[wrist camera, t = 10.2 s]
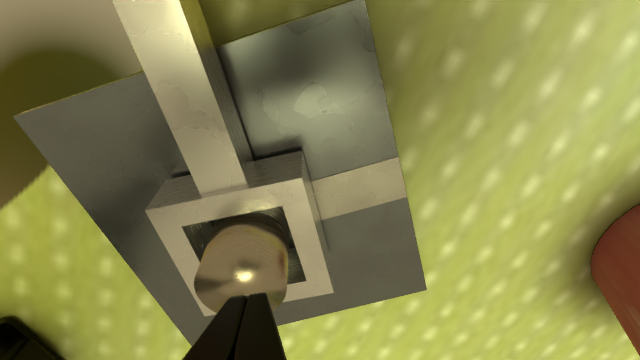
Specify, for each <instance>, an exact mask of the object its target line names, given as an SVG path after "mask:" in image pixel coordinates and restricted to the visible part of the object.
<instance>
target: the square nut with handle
mask: <svg viewBox="0 0 640 360" xmlns="http://www.w3.org/2000/svg"><path fill="white" fill-rule="evenodd" d="M112 2H113V4H114V6H115V9H116V11H117V13H118V15H119V18H120V20H121V22H122V24H123V26H124V28H125V30H126V33H127V35H128V37H129V39H130V42H131V44H132V46H133V48H134V50H135V53H136V55H137V57H138V59H139V61H140V63H141V66H142V68H143V70H144V72H145V74H146V77H147V79H148V81H149V83H150V85H151V88H152V90H153V92H154V94H155V96H156V98H157V101H158V103H159V105H160V107H161V109H162V112H163V114H164V116H165V118H166V120H167V123H168V125H169V127H170V129H171V131H172V133H173V136H174V138H175V140H176V142H177V144H178V147H179V149H180V151H181V153H182V155H183V158H184V160H185V162H186V164H187V166H188V168H189V171H190V173H191V175H186V176H182V177H177V178H172V179H168V180H166V181H165V182H164V184H163V185H162V187H161V188H160V189H159V191H158V192H157V194H156V195H155V197H154V198H153V200H152V201H151V202H150V204H149V205H148V207H147V208H146V210H145V212H146V214H147V216H148V217H149V219H150V221H151V223H152V224H153V226H154V228H155V230H156V231H157V233H158V235H159V237H160V238H161V240H162V242H163V244H164V246H165V247H166V249H167V251H168V253H169V254H170V256H171V258H172V260H173V261H174V263H175V265H176V267H177V268H178V270H179V272H180V274H181V276H182V277H183V279H184V281H185V283H186V284H187V286H188V288H189V290H190V291H191V293H192V295H193V297H194V298H195V300H196V302H197V304H198V306H199V307H200V309H201V311H202V313H203V314H204V316H211V315H216V314H217V313H215V312H214V311H212V310H210V309H209V308H207V307H206V306H205V305H204V304H203V303H202V302H201V301H200V300H199V298H198V296H197V295H196V292H195V289H194V279H195V275H196V273H197V270H198V267H199V265H200V262H201V259H202V256H203V254H204V251H205V248H206V246H207V243H208V240H209V237H210V235H211V232H212V229H213V227H212V225H211V223H210V221H211V220H216V219H220V218H225V217H230V216H235V215H240V214H245V213H250V212H255V211H260V210H264V209H269V208H274V207H279V206H282V207H283V210H284V213H285V216H286V219H287V222H288V225H289V228H290V231H291V234H292V237H293V240H294V244H295V247H296V248H292V249H289V259H288V277H287V292H286V296H285V298H284V300H283V302H287V301H292V300H298V299H303V298H308V297H314V296H319V295H325V294H330V293H334V289H333V279H332V269H331V258H330V254H329V250H328V246H327V242H326V239H325V235H324V231H323V227H322V223H321V220H320V216H319V212H318V208H317V205H316V201H315V197H314V193H313V190H312V186H311V182H310V178H309V175H308V171H307V167H306V163H305V159H304V156H303V152H302V151H298V152H294V153H289V154H284V155H280V156H275V157H270V158H266V159H261V160H256V161H254V159H253V156H252V154H251V151H250V148H249V145H248V142H247V139H246V136H245V133H244V130H243V128H242V125H241V122H240V119H239V116H238V113H237V110H236V107H235V105H234V102H233V99H232V96H231V93H230V90H229V87H228V84H227V81H226V79H225V76H224V73H223V70H222V67H221V64H220V61H219V58H218V55H217V53H216V50H215V47H214V44H213V41H212V38H211V35H210V32H209V30H208V27H207V24H206V21H205V18H204V15H203V12H202V9H201V6H200V4H199V1H198V0H112Z"/></svg>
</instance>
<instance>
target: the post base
mask: <svg viewBox="0 0 640 360" xmlns="http://www.w3.org/2000/svg"><path fill="white" fill-rule="evenodd" d="M215 50H216V53H217V55H218V58H219V61H220V64H221V67H222V70H223V73H224V76H225V79H226V81H227V84H228V87H229V90H230V93H231V96H232V99H233V102H234V105H235V107H236V110H237V113H238V116H239V119H240V122H241V125H242V128H243V130H244V133H245V136H246V139H247V142H248V145H249V148H250V151H251V154H252V156H253V159H254V161H256V160H261V159H266V158H270V157H275V156H280V155H284V154H289V153H294V152H298V151H302V152H303V156H304V159H305V163H306V167H307V171H308V175H309V178H310V182H311V186H312V190H313V193H314V197H315V201H316V205H317V208H318V212H319V216H320V220H321V223H322V227H323V231H324V235H325V239H326V242H327V246H328V250H329V254H330V258H331V269H332V279H333V289H334V293H330V294H325V295H319V296H314V297H308V298H303V299H298V300H292V301H287V302H283V300H284V298H285V296H286V292H287V277H288V259H289V249H292V248H296V247H295V244H294V240H293V237H292V234H291V231H290V228H289V225H288V222H287V219H286V216H285V213H284V210H283V207H282V206H279V207H274V208H269V209H264V210H260V211H255V212H250V213H245V214H240V215H235V216H230V217H225V218H220V219H216V220H211V221H210V223H211V225H212V227H213V229H212V232H211V235H210V237H209V240H208V243H207V246H206V248H205V251H204V254H203V256H202V259H201V262H200V265H199V267H198V270H197V273H196V275H195V279H194V289H195V292H196V295H197V296H198V298H199V300H200V301H201V302H202V303H203V304H204V305H205V306H206V307H207V308H209V309H210V310H212V311H214V312H215V313H218V311H219V310H220V309H221V307H222V306H223V305H224V303H225V302H226V301H227V300H228V299H229V298H230V297H232V296H238V295H248V296H249V295H250V294H254V293H261V292H266V293H267V295H268V298H269V302H270V305H271V308H272V312H273V315H274V319H275V322H276V325H277V326H279V325H283V324H287V323H291V322H295V321H300V320H304V319H308V318H312V317H316V316H320V315H325V314H329V313H333V312H337V311H341V310H345V309H349V308H354V307H358V306H362V305H366V304H370V303H374V302H379V301H383V300H387V299H391V298H395V297H399V296H403V295H408V294H412V293H416V292H420V291H424V290H427V288H426V284H425V279H424V274H423V270H422V265H421V260H420V256H419V251H418V246H417V242H416V237H415V232H414V228H413V223H412V218H411V214H410V209H409V204H408V199H407V194H406V190H405V185H404V180H403V175H402V171H401V166H400V161H399V157H398V153H397V148H396V143H395V139H394V134H393V129H392V125H391V120H390V115H389V111H388V106H387V101H386V97H385V92H384V87H383V83H382V78H381V73H380V68H379V64H378V59H377V54H376V50H375V45H374V40H373V36H372V31H371V26H370V22H369V17H368V12H367V8H366V3H365V0H350V1H347V2H344V3H341V4H338V5H335V6H332V7H329V8H326V9H323V10H320V11H317V12H314V13H312V14H309V15H306V16H303V17H300V18H297V19H294V20H291V21H288V22H285V23H282V24H279V25H276V26H273V27H270V28H268V29H265V30H262V31H259V32H256V33H253V34H250V35H247V36H244V37H241V38H238V39H235V40H232V41H229V42H227V43H224V44H221V45H218V46H215ZM13 118H14V119H15V120H16V122H17V123H18V124H19V125H20V127H21V128H22V129H23V131H24V132H25V133H26V134H27V136H28V137H29V138H30V139H31V141H32V142H33V143H34V145H35V146H36V147H37V148H38V149H39V151H40V152H41V154H42V155H43V156H44V157H45V159H46V160H47V161H48V163H49V164H50V165H51V166H52V168H53V169H54V170H55V172H56V173H57V174H58V175H59V177H60V178H61V179H62V180H63V182H64V183H65V184H66V186H67V187H68V188H69V189H70V191H71V192H72V193H73V195H74V196H75V197H76V198H77V200H78V201H79V202H80V204H81V205H82V206H83V207H84V209H85V210H86V211H87V213H88V214H89V215H90V216H91V218H92V219H93V220H94V221H95V223H96V224H97V225H98V227H99V228H100V229H101V230H102V232H103V233H104V234H105V236H106V237H107V238H108V239H109V241H110V242H111V243H112V245H113V246H114V247H115V248H116V250H117V251H118V252H119V253H120V255H121V256H122V257H123V259H124V260H125V261H126V262H127V264H128V265H129V266H130V268H131V269H132V270H133V271H134V273H135V274H136V275H137V277H138V278H139V279H140V280H141V282H142V283H143V284H144V286H145V287H146V288H147V289H148V291H149V292H150V293H151V294H152V296H153V297H154V298H155V300H156V301H157V302H158V303H159V305H160V306H161V307H162V309H163V310H164V311H165V312H166V314H167V315H168V316H169V318H170V319H171V320H172V321H173V323H174V324H175V325H176V326H177V328H178V329H179V330H180V332H181V333H182V334H183V335H184V337H185V338H186V339H187V341H188V342H189V343H190V344H191V346H193V345H194V343H195V342H196V341H197V339H198V338H199V337H200V335H201V334H202V333H203V331H204V330H205V329H206V327H207V326H208V325H209V323H210V322H211V321H212V319H213V318H214V317H215V315H211V316H204V314H203V313H202V311H201V309H200V307H199V306H198V304H197V302H196V300H195V298H194V297H193V295H192V293H191V291H190V290H189V288H188V286H187V284H186V283H185V281H184V279H183V277H182V276H181V274H180V272H179V270H178V268H177V267H176V265H175V263H174V261H173V260H172V258H171V256H170V254H169V253H168V251H167V249H166V247H165V246H164V244H163V242H162V240H161V238H160V237H159V235H158V233H157V231H156V230H155V228H154V226H153V224H152V223H151V221H150V219H149V217H148V216H147V214H146V212H145V210H146V208H147V207H148V205H149V204H150V202H151V201H152V200H153V198H154V197H155V195H156V194H157V192H158V191H159V189H160V188H161V187H162V185H163V184H164V182H165V181H166V180H168V179H172V178H177V177H182V176H186V175H191V173H190V171H189V168H188V166H187V164H186V162H185V160H184V158H183V155H182V153H181V151H180V149H179V147H178V144H177V142H176V140H175V138H174V136H173V133H172V131H171V129H170V127H169V125H168V123H167V120H166V118H165V116H164V114H163V112H162V109H161V107H160V105H159V103H158V101H157V98H156V96H155V94H154V92H153V90H152V88H151V85H150V83H149V81H148V79H147V77H146V74H145V72H144V71H141V72H139V73H136V74H133V75H130V76H127V77H124V78H121V79H118V80H115V81H112V82H109V83H107V84H104V85H100V86H97V87H95V88H92V89H89V90H86V91H83V92H80V93H77V94H75V95H71V96H68V97H65V98H63V99H59V100H56V101H54V102H51V103H48V104H45V105H42V106H39V107H36V108H33V109H30V110H28V111H24V112H22V113H20V114H18V115H16V116H14V117H13Z"/></svg>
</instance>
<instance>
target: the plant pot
mask: <svg viewBox="0 0 640 360" xmlns="http://www.w3.org/2000/svg"><path fill="white" fill-rule="evenodd" d="M591 271H592V275H593V278H594V280H595V281H596V283H597V285H598V286H599V288H600V290H601V291H602V293H603V295H604V296H605V298H606V300H607V302H608V303H609V305H610V307H611V309H612V310H613V312H614V314H615V315H616V317H617V319H618V320H619V322H620V324H621V326H622V327H623V329H624V331H625V332H626V334H627V336H628V337H629V339H630V341H631V342H632V344H633V346H634V347H635V349H636V351H637V352H638V354H639V356H640V205H638V206H636V207H634V208H633V209H631V210H630V211H628V212H627V213H625V214H624V215H623V216H622V217H620V218H619V219H618V220H617V221H615V222H614V223H613V224H612V225H611V226H610V228H609V229H608V230H607V231H606V232H605V233H604V234H603V236H602V237H601V238H600V240H599V242H598V243H597V245H596V247H595V249H594V252H593V255H592V259H591Z"/></svg>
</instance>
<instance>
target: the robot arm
mask: <svg viewBox="0 0 640 360" xmlns="http://www.w3.org/2000/svg"><path fill="white" fill-rule="evenodd" d="M0 360H61V359H60V358H59V357H58V356H56V355H55V354H54V353H53V352H52V351H51V350H50V349H49V348H47V347H46V346H45V345H44V344H43V343H42V342H41V341H40V340H39V339H37V338H36V337H35V336H34V335H33V334H32V333H31V332H30V331H28V330H27V329H26V328H25V327H24V326H23V325H22V324H21V323H20V322H18V321H17V320H15V319H13V318H6V319H2V320H0ZM182 360H287V359H286V356H285V353H284V349H283V346H282V342H281V339H280V336H279V332H278V329H277V325H276V322H275V319H274V315H273V312H272V308H271V305H270V302H269V298H268V295H267V293H266V292H261V293H254V294H250V295H249V296H248V295H238V296H232V297H230V298H229V299H228V300H227V301H226V302H225V303H224V305H223V306H222V307H221V309H220V310H219V311H218V313H217V314H216V315H215V317H214V318H213V319H212V321H211V322H210V323H209V325H208V326H207V327H206V329H205V330H204V331H203V333H202V334H201V335H200V337H199V338H198V339H197V341H196V342H195V343H194V345H193V346H192V347H191V349H190V350H189V351H188V353H187V354H186V355H185V357H184V358H183V359H182Z"/></svg>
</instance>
